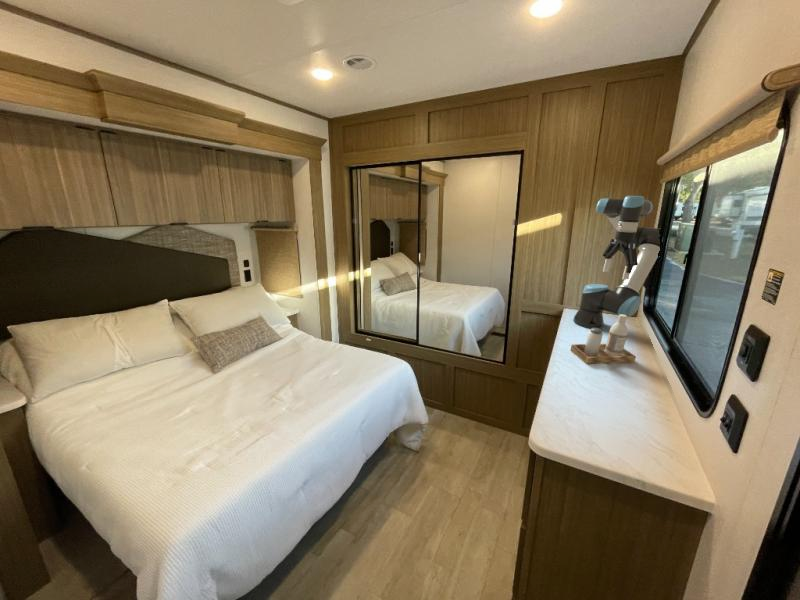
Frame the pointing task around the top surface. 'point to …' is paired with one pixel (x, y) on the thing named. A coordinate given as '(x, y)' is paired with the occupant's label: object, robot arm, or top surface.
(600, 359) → the caddy
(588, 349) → the white and grey cylinder
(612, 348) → the bath foam
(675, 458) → the top surface
